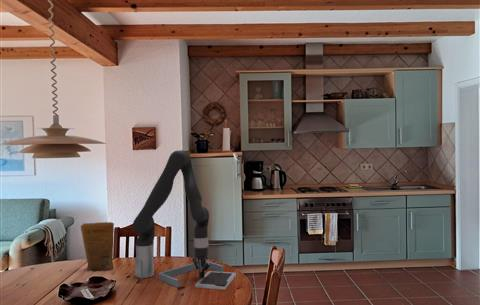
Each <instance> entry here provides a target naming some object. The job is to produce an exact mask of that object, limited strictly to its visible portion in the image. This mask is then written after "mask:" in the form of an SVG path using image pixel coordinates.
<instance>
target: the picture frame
mask: <svg viewBox="0 0 480 305" xmlns="http://www.w3.org/2000/svg"><path fill="white" fill-rule="evenodd" d="M236 276H237V272H229V271H223V272H219V271H216V270H207V272H205V273H204V277H203V278H199V279H198V281H197V282H196V283H195V284H194V288H199V289H200V288H202V289H214V290H222V291H223V290H225V291H226V289H227V288H228V287H229V286H230V284H231V283H232V282H233V280H234V279H235V278H236Z"/></svg>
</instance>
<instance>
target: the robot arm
mask: <svg viewBox="0 0 480 305" xmlns="http://www.w3.org/2000/svg"><path fill="white" fill-rule="evenodd" d="M165 164H166V165H165V167H164V169H163V171H162V172H161V174H160V176H159V178H158V179H157V181H156V183H155V184H154V186H153V188H152V190H151V192H150V194H149V195H148V197H147V199H146V200H145V203H144V205H143V207H142V209H141V210H139V212H138V214H137V215H136V217H135V218H134V220H133V223H132V229H133V232H135V233H136V234H138V236H137V238H136V240H135V250H136V251H135V253H136V255H135V256H136V258H134V273H135V274H134V276H135V277H137V278H139V279H146V278H151V277H153V276H154V275H155V262H154V261H155V259H154V258H155V257H154V256H155V255H154V240H155V236H156V235H155V234H156V233H155V230H156V229H155V228H156V225H155V220H154V215H155V214H156V213H157V211H159V209H160V208H162V206H163V205H164V204H165V203H166V201H167V200H168V198H169V196H170V194H171V192H172V191H173V188H174V181H175V179H176V176H177V175H178V173H179V171H180V172H181V173H182V177H183V184H184V191H185V195H186V198H187V200H188V203H189V209H190V210H189V211H190V215H191V218H192V220H194V222H196V224H195V226H194V229H193V230H194V231H193V232H194V234H193V238H194V239H193V253H194V256H195V257H194V258H192V263H194V265H195V267H196V269H195V270H197V271H198V277H199V279H201V278H203V277H204V275H205V271H208V269H210V268H209V266H210V264H211V263H210V262H211V261H209V259H208V255H209V238H208V237H209V236H208V235H209V234H208V227H209V222H210V220H209V219H210V213H209V209H208V208H206V207H204V206H202V201H203V199H202V195H201V193H200V192H201V191H200V190H199V187H198V185H197V180H196V177H195V174H194V170H193V165H192V164H193V163H192V158H191V155H190V153H189V152H188V151H186V150H182V149H181V150H174V151H173V152H171V154H170V155H169V158H168V160H167V162H166V163H165ZM208 261H209V262H208Z"/></svg>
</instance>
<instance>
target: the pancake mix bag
mask: <svg viewBox="0 0 480 305" xmlns="http://www.w3.org/2000/svg"><path fill="white" fill-rule="evenodd" d="M114 226H115V223H113V222H111V221H110V222H109V221H107V222H106V221H105V222H94V223H93V222H92V223H91V222H90V223H89V222H88V223H87V222H86V223H82V225H80V231H81V236H82V241H83V242H82V243H83V247H84V252H85V257H86V263H87V265H86V266H87V268H86V270H88V271H95V272H97V271H102V272H104V271H105V272H107V271H112V270H114V269H115V268H114V262H113V260H114V258H113V257H114V256H113V255H114V233H115V232H114V231H115V230H114V229H115V228H114Z"/></svg>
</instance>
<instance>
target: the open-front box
mask: <svg viewBox="0 0 480 305" xmlns="http://www.w3.org/2000/svg"><path fill="white" fill-rule="evenodd" d="M208 262H210V263H211V264H210V266H209V268H208V269H209V270H212V271H217V272H224V265H222V264H218V263H216V262H212V261H210V260H208ZM195 270H197V269H196V267H195V265H194V262H192V263H189V264H186V265H182V266H179V267H178V266H177V267H176V268H172V269H169V270H165V271H161V272H158V280H159V281H161V282H163V283H165V284H168V285H171V286H173V287H175V288H179V287H180V282H179V281H180V280H179V279H177V278H175V277H176V276H178V275H182V274H185V273H189V272H192V271H195Z"/></svg>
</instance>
